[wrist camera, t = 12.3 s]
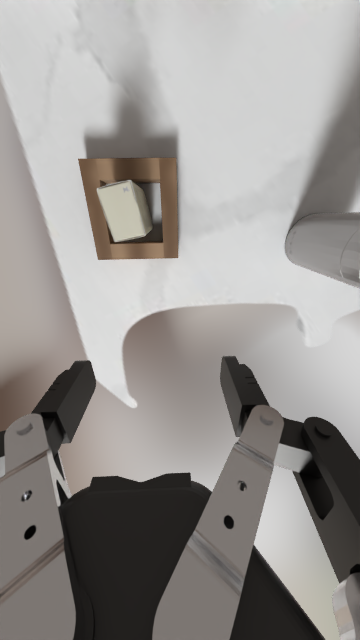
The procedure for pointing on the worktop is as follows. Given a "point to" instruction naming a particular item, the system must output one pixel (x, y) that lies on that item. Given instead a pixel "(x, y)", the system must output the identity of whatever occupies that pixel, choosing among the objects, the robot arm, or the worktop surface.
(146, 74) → the worktop surface
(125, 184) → the skincare box
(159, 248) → the socket block
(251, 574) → the robot arm
